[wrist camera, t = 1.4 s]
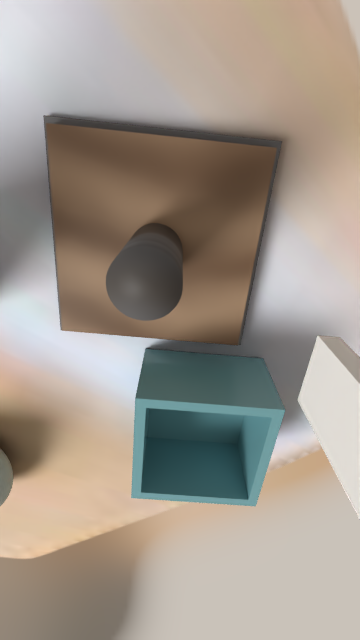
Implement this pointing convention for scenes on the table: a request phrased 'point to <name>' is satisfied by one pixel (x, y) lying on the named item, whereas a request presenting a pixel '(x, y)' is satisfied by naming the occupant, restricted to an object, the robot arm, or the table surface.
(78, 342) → the table surface
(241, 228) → the lid
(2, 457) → the air freshener
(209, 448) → the teal storage bin
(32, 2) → the table surface
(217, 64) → the table surface
